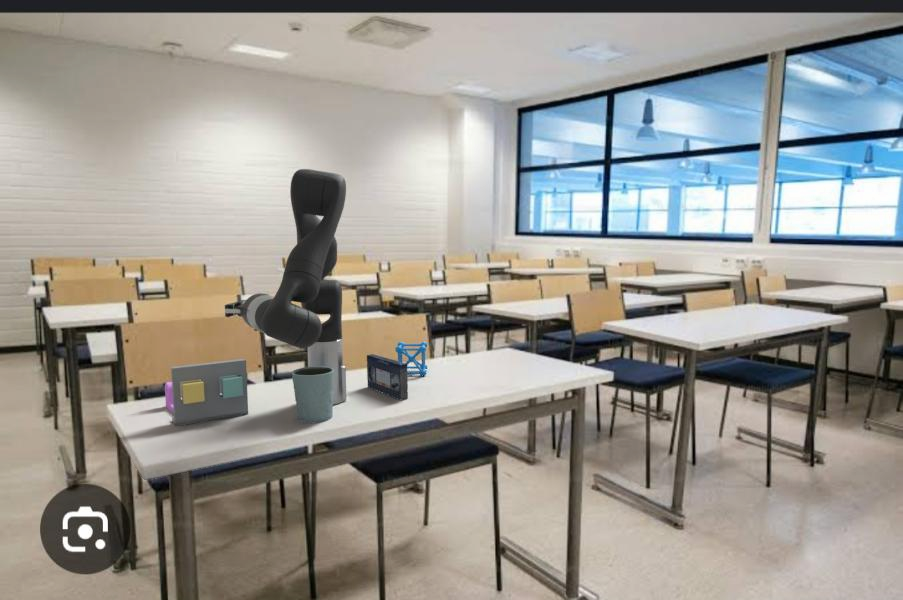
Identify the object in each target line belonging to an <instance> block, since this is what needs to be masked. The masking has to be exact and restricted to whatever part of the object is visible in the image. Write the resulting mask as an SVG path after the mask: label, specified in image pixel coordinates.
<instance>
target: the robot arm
mask: <svg viewBox="0 0 903 600" xmlns="http://www.w3.org/2000/svg"><path fill="white" fill-rule="evenodd" d="M346 182H347V181H346V179H345V177H344V176H343V175H341V174H338V173H333V172H328V171H323V170H321V171H320V170H315V169H310V168H302V169H301V168H300V169H298V170H296V171H295V172H294V173H293V175H292V178H291V181H290V188H289V190H290V192H289V193H290V195H289V196H290V202H291V203H290V204H291V209H292V213H293V217H294V222H295V228H296V245H295V246H294V247H292V250H291V251H290V253H289V255H288V256H287V260H286V262H285V266H284V272H283V274H282V279H281V282H280V285H279V287H278V289H277V291H276V293H275V295H274V296H273V295H270V294H266V293H262V292H261V293H255V294H253V295H250V296H249V297H248V298H247V299H241V300H240V301H235V302H230V303H227V304H224V317H227V318H230V317H235V316H236V315H237V316H238V317H241V318H242V319H243V321H244V322H245V323H246V324H247V325H248V327H251V328H252V329H254V330H256V331H259V332H260V333H263V334H265V335H266V336H267V337H269V338H271V339H275V340H277V341H280V342H282V343H285V344H287V345H291V346H293V347H296V348H298V349H306V348H307V364H308V365H307V367H313V366H325V367H331V368H333V369H334V379H333V391H332V392H333V401H332V402H333V403H332V404H333V405H337V404H340V403H342V402H346V401H347V373H346V372H347V371H346V370H347V369H346V366H344V363H343V361H344V359H343V357H344V356H343V329H342V328H343V327H342V324H343V323H342V313H343V310H342V309H343V288H342V284H341V282H340V281H339V280H336V279H330V280H329V279H325V278H326V277H327V276H328V275H329V274H330V273H331V272H332V271H333V270H334V269H335V266H336V265H337V260H338V243H337V239H336V237H335V234H336V231H337V230H338V229H337V228H338V225H339V223H340V220H341V218H342V213H343V211H344V207H345V202H346V198H347V197H346V196H347V195H346V194H347V183H346ZM319 217H322V219H320V218H319ZM292 302H294V303H292ZM295 303H300V305H301V306H299V305H296V304H295ZM319 315H329V317H328V319H326V320H325V321H324V322H322V321H321V319H320V317H319Z"/></svg>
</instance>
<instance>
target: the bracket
mask: <svg viewBox="0 0 903 600" xmlns="http://www.w3.org/2000/svg"><path fill="white" fill-rule="evenodd" d="M164 394H165V395H164V396H165V407H166V406H167V407H168V408H169V409H168V408H167V407H166V408H167V409H168V410H170V411H171V412H172V413H173V414H174V411H173V392H172V381H167V382H165V383H164ZM181 400H183V399H182V398H181Z"/></svg>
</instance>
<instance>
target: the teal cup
mask: <svg viewBox="0 0 903 600" xmlns="http://www.w3.org/2000/svg"><path fill="white" fill-rule="evenodd" d="M291 376H292V377H291V379H292V383H293V384H292V385H293V389H294V390H293V391H294V392H293V393H294V398H295V402H296V403H295V405H296V406H295V407H296V413H297V414H296V415H297V420H298V421H299V420H300V421H299V422H302V421H303V422H302V423H308V422H314V423H322V422H326V421H329V420H331V419H332V418H333V414H334V413H333V412H334V411H333V410H334V408H333V407H334V406H333V404H332V403H333V402H332V401H333V392H332V391H333V379H334V369H333V368H331V367H325V366H313V367H308V366H306V367H300V368H295V369H294V370H292V371H291ZM328 419H329V420H328ZM321 421H322V422H321Z"/></svg>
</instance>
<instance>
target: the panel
mask: <svg viewBox="0 0 903 600" xmlns="http://www.w3.org/2000/svg"><path fill="white" fill-rule="evenodd" d="M170 370H171V371H170V372H171V382H172V392H173V411H174V413H173V416H172V417H171V421H172V423H173V425H174V426H175V427H177V426H178V425H179V426H184V424H185V425H191V424H195V423H197V422H198V423H201V422H202V421H204V422H208V420H210V421H214V420H213V419H216V420H220V418H222V419H227V418H226V417H228V418H233V417H232V416H234V417H239V416H238V415H240V416H244V415H243V414H246V415H249V403H248V402H249V400H248V399H249V397H248V396H249V395H248V377H247V375H248V374H247V373H248V372H247V360H246V358H241V359H231V360H222V361H212V362H206V363H205V362H204V363H195V364H184V365H179V366H178V365H177V366H176V365H175V366H171V367H170ZM233 375H237V376H238V377H242V382H243V396H236V397H230V398H223V395H222V394H221V393H220V377H225V376H233ZM194 380H199V381H200V382H204V398H205V401H202V402H195V403H189V404H183V400H181V399H182V398H181V389H180V382H186V381H194ZM190 423H191V424H190Z"/></svg>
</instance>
